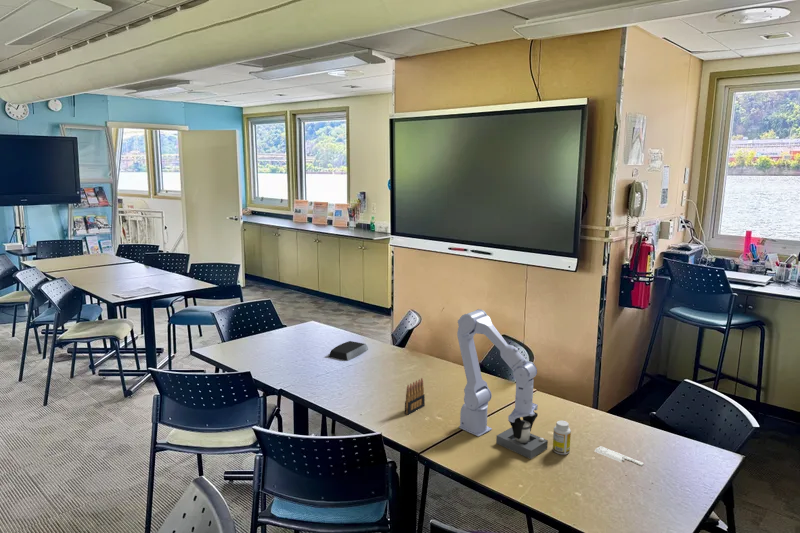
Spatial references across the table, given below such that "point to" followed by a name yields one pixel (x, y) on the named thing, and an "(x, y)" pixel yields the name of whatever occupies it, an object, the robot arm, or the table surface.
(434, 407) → the table surface
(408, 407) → the ammunition clip
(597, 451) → the white plastic blade
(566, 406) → the table surface
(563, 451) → the supplement bottle
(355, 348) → the external hard drive
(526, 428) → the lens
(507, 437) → the grey panel with knob
